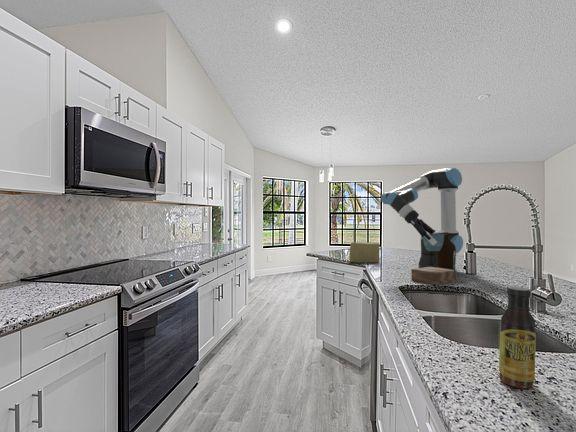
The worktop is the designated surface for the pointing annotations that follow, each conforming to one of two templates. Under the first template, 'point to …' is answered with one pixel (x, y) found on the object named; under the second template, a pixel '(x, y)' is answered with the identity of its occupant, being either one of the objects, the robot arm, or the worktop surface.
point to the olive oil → (446, 254)
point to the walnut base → (434, 275)
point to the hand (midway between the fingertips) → (438, 243)
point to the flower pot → (437, 246)
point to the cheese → (364, 252)
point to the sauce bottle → (517, 340)
